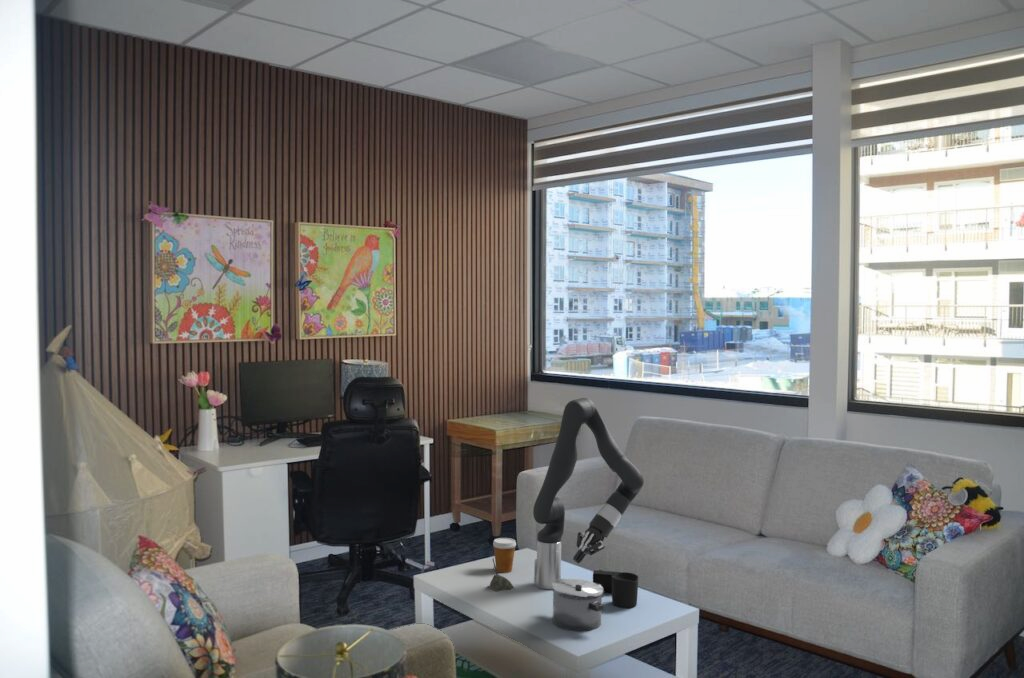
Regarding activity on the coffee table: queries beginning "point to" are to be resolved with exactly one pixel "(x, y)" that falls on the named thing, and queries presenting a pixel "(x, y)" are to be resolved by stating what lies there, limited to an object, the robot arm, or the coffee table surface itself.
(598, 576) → the digital camera
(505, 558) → the disposable coffee cup
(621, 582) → the pen holder
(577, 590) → the cooker lid
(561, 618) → the cooker pot
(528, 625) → the coffee table surface
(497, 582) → the sword in stone
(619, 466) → the robot arm
